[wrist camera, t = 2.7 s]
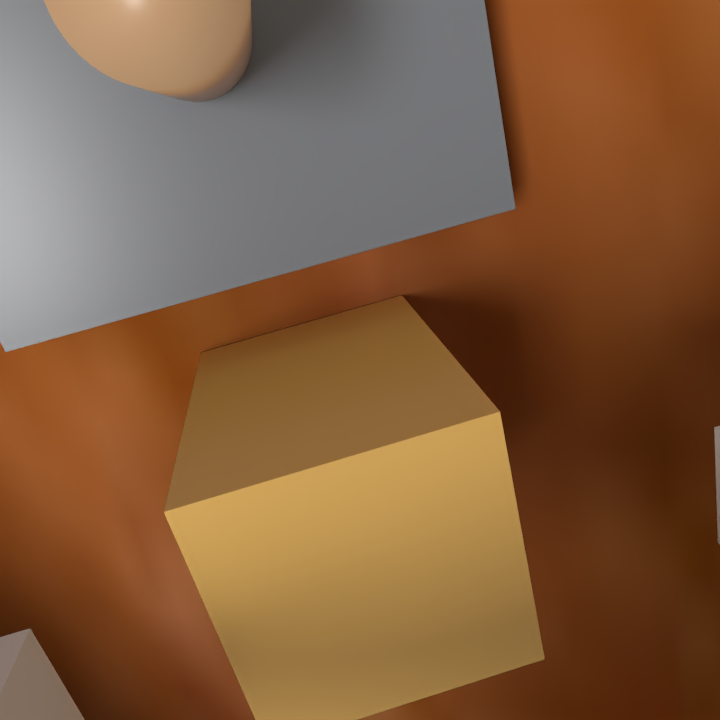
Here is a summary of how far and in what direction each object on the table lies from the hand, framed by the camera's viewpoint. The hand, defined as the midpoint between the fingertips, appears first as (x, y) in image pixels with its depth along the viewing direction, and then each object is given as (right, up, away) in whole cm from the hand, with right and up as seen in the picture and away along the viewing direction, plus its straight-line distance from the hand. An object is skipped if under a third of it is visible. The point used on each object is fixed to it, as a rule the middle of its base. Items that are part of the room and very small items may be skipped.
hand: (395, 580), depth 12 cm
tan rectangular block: (-2, +3, +7) cm, 8 cm away
